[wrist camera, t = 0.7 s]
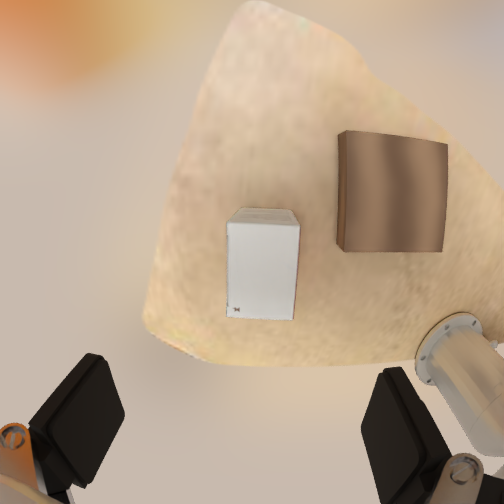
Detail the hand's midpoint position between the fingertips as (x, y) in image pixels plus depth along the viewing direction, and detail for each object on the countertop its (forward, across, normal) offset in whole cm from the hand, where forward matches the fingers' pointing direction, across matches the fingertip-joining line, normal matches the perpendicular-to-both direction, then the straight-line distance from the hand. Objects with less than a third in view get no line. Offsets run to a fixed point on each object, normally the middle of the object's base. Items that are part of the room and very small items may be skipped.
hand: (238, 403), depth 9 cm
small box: (+24, -1, +1) cm, 25 cm away
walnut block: (+25, -14, -6) cm, 29 cm away
